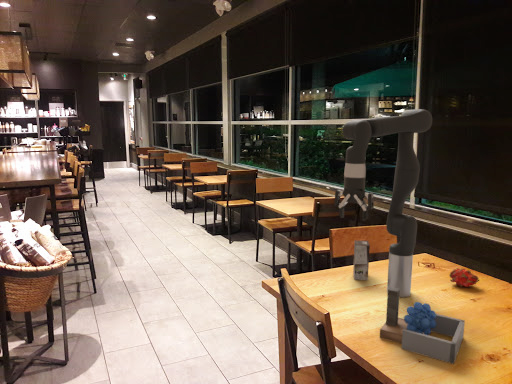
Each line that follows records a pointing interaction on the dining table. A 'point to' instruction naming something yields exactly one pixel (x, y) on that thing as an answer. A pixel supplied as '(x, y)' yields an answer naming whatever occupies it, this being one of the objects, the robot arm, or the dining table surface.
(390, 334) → the post on wooden base
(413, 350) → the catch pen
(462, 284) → the dragon fruit
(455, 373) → the dining table surface
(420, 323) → the grapes
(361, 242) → the coffee box
